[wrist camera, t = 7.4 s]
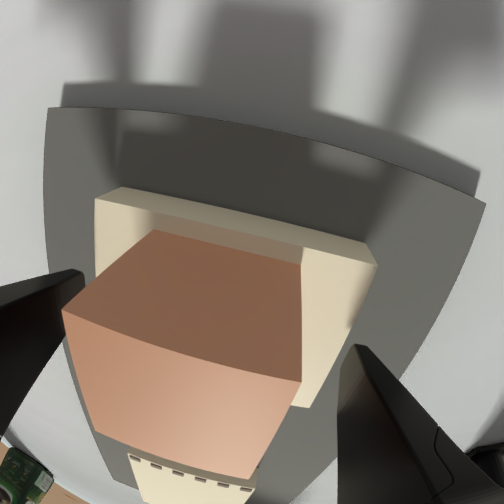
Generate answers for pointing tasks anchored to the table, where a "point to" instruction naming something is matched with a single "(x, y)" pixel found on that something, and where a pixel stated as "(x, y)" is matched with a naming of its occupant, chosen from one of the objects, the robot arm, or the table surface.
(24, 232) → the table surface
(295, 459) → the mat
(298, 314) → the stub
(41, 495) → the coffee jar
